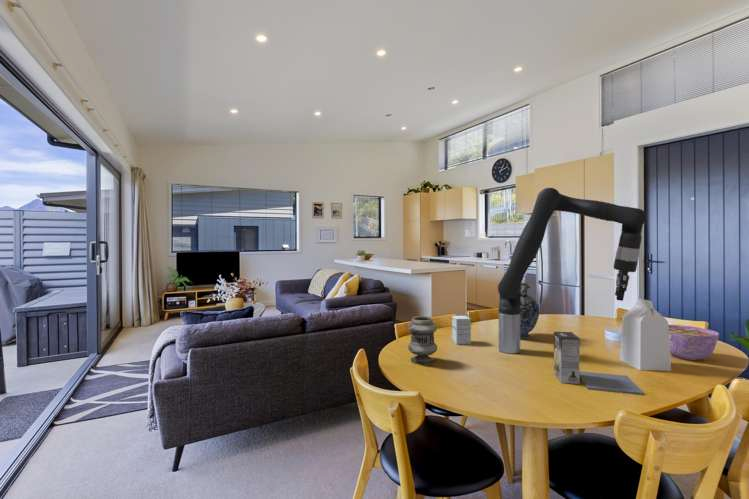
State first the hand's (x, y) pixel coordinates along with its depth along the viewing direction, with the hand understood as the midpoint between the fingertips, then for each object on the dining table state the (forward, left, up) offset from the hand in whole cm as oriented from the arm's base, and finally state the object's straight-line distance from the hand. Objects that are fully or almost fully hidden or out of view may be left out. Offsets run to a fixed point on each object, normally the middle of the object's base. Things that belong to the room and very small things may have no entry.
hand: (618, 298), depth 146 cm
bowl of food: (+29, +16, -27) cm, 43 cm away
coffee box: (-23, -25, -27) cm, 43 cm away
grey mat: (-10, -25, -26) cm, 38 cm away
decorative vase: (-35, +32, -27) cm, 54 cm away
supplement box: (-63, +13, -27) cm, 70 cm away
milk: (+9, 0, -27) cm, 28 cm away
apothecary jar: (-76, -20, -27) cm, 83 cm away
